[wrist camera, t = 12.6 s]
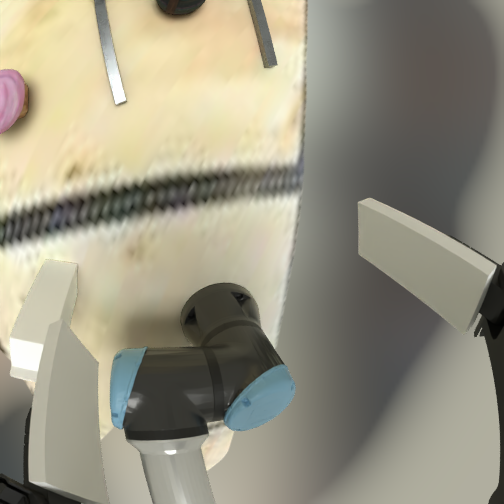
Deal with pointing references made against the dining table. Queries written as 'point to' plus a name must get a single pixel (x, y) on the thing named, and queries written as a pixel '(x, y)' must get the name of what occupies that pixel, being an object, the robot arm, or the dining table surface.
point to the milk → (42, 315)
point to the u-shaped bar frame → (110, 56)
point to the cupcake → (12, 98)
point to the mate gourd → (179, 6)
